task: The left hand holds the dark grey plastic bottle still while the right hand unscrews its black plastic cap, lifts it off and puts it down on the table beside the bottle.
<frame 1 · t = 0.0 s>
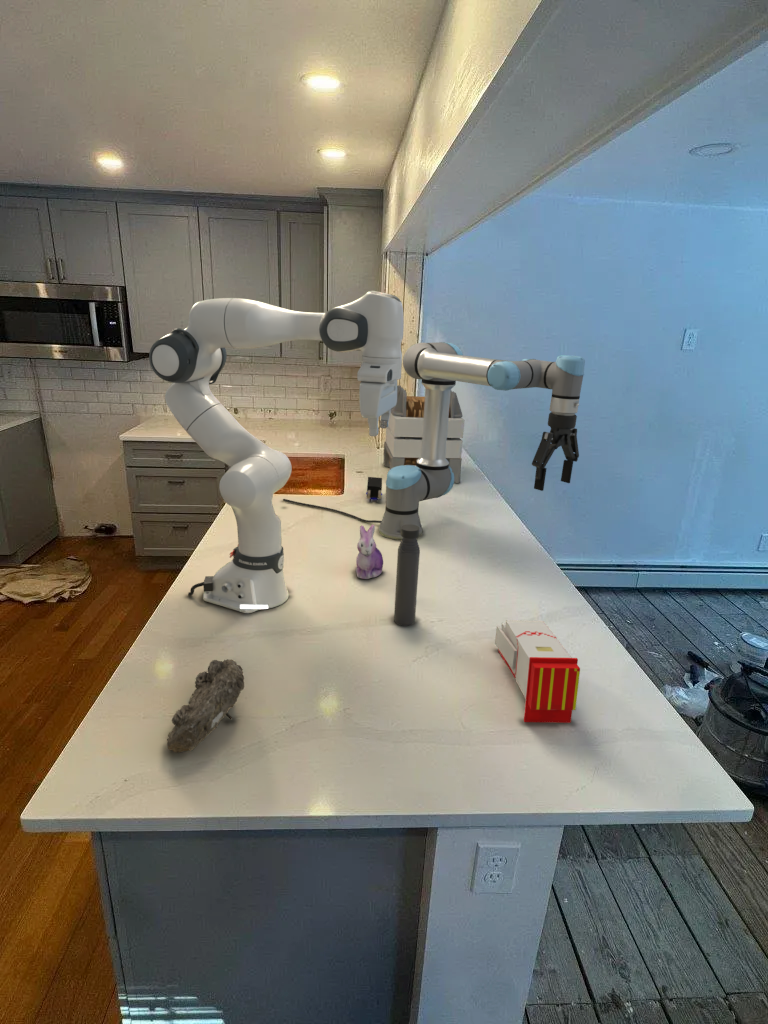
left hand: (379, 431, 130), 48 cm above the counter, tool pointing down, fingers open, 8 cm apart
right hand: (552, 485, 166), 28 cm above the counter, tool pointing down, fingers open, 13 cm apart
toy: (528, 680, 123), on the counter
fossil: (212, 717, 108), on the counter
bottle: (404, 620, 145), on the counter
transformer: (419, 473, 275), on the counter
cap: (410, 528, 136), point 25 cm above the counter, screwed on, not yet turned
figurine character: (374, 498, 235), on the counter
figurine: (368, 573, 169), on the counter
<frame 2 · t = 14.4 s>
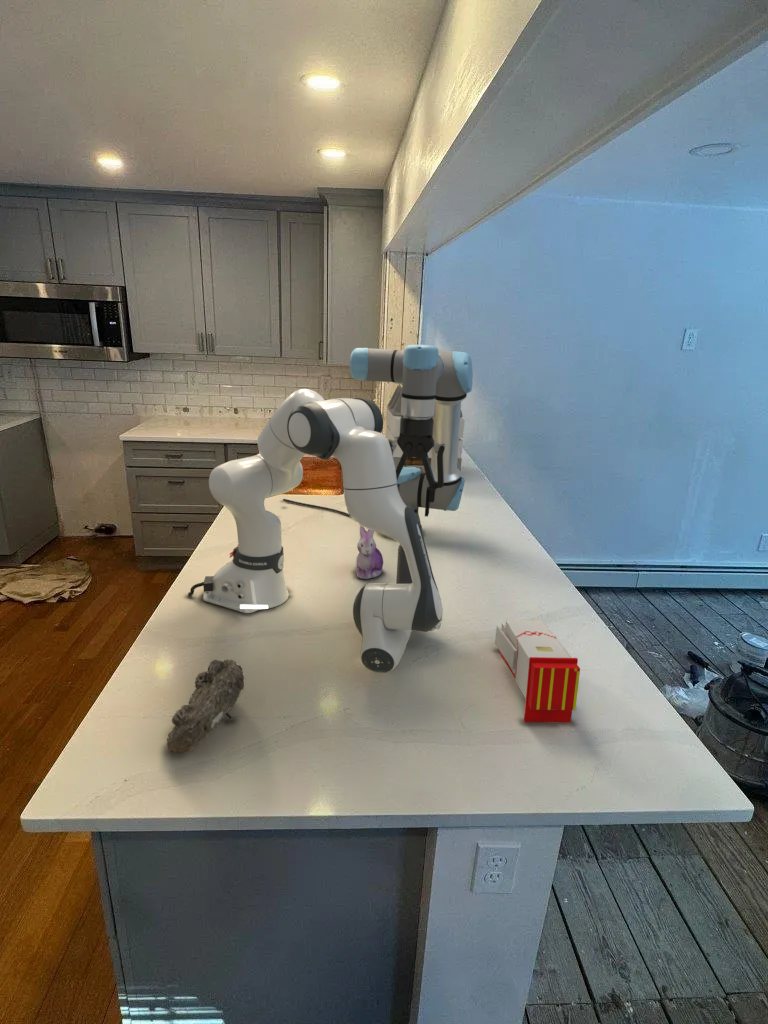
left hand: (406, 595, 143), 7 cm above the counter, tool horizontal, fingers closed on bottle, 5 cm apart
right hand: (411, 512, 135), 29 cm above the counter, tool pointing down, fingers open, 7 cm apart
bottle: (404, 620, 145), on the counter, touching left hand
everything else where it was.
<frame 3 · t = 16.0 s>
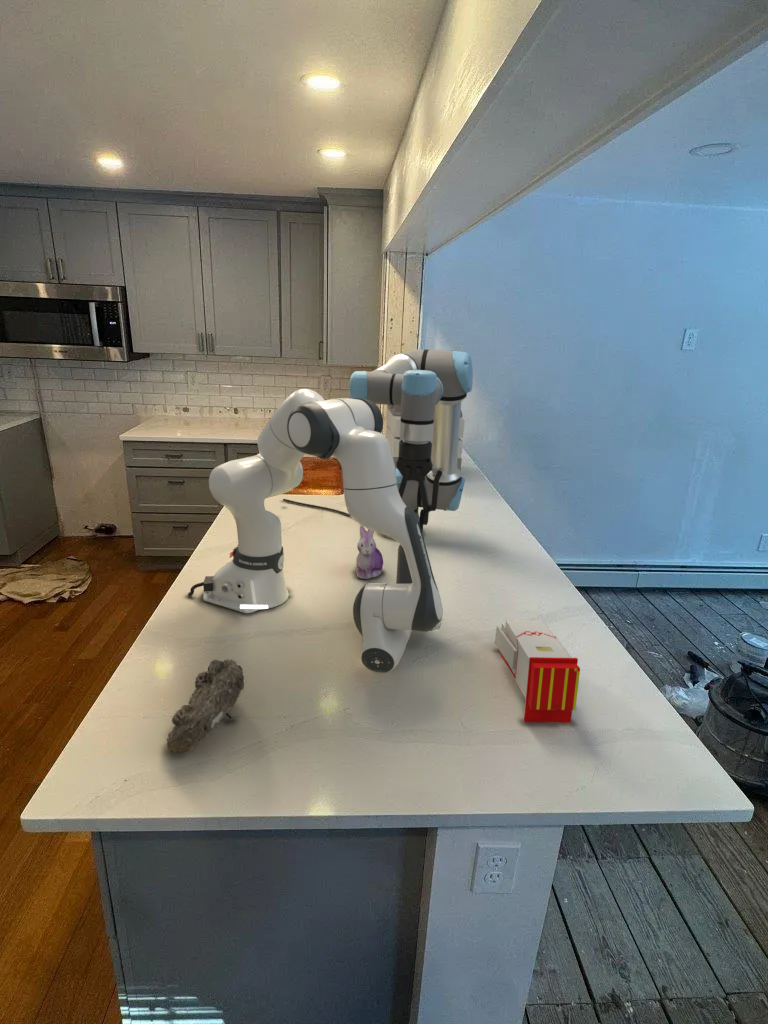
left hand: (406, 596, 143), 7 cm above the counter, tool horizontal, fingers closed on bottle, 5 cm apart
right hand: (409, 535, 137), 23 cm above the counter, tool pointing down, fingers closed on cap, 4 cm apart
bottle: (404, 620, 145), on the counter, touching left hand
cap: (410, 528, 136), point 25 cm above the counter, screwed on, not yet turned, touching right hand
everything else where it was.
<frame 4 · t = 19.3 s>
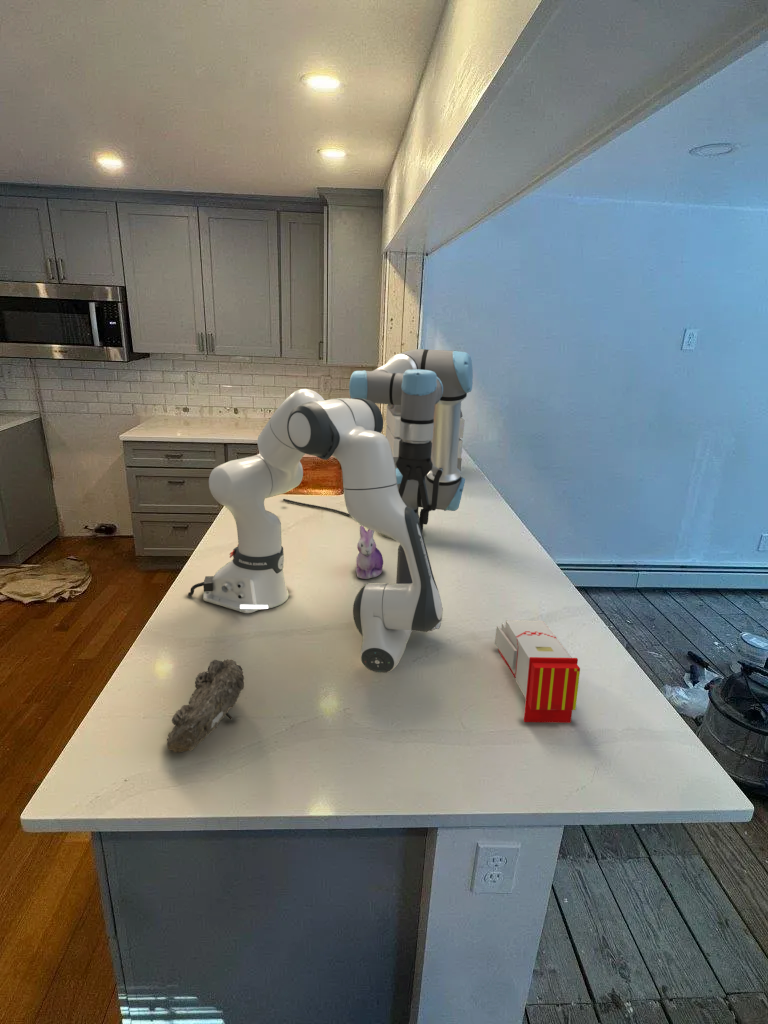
left hand: (406, 596, 143), 7 cm above the counter, tool horizontal, fingers closed on bottle, 5 cm apart
right hand: (409, 534, 137), 24 cm above the counter, tool pointing down, fingers closed on cap, 4 cm apart
bottle: (404, 620, 145), on the counter, touching left hand
cap: (410, 528, 136), point 25 cm above the counter, turned 88° so far, risen 0.1 cm, still on its thread, touching right hand
everything else where it was.
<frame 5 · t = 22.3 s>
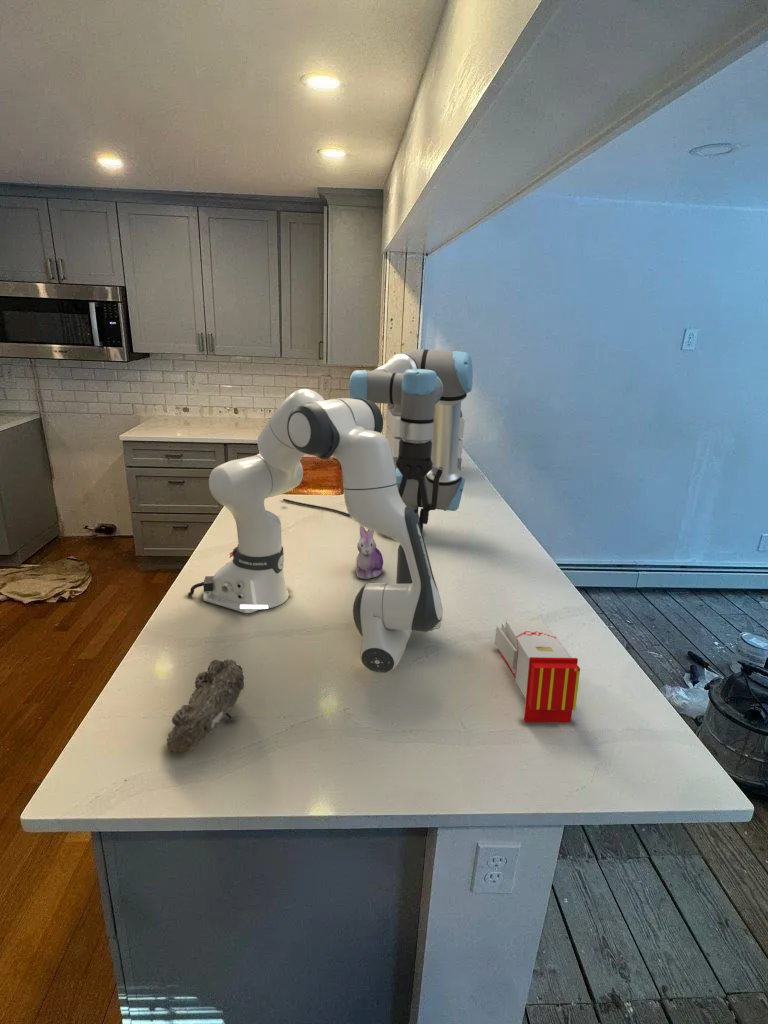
left hand: (406, 596, 143), 7 cm above the counter, tool horizontal, fingers closed on bottle, 5 cm apart
right hand: (409, 534, 137), 24 cm above the counter, tool pointing down, fingers closed on cap, 4 cm apart
bottle: (404, 620, 145), on the counter, touching left hand
cap: (410, 527, 136), point 25 cm above the counter, turned 177° so far, risen 0.2 cm, still on its thread, touching right hand
everything else where it was.
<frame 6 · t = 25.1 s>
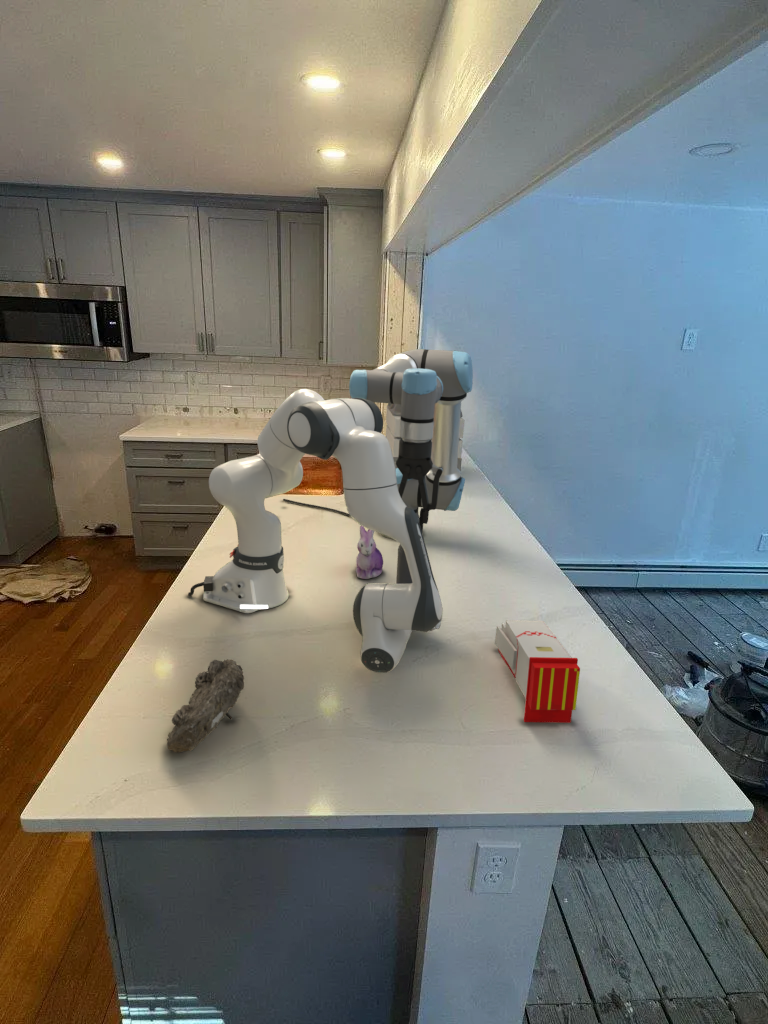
left hand: (406, 596, 143), 7 cm above the counter, tool horizontal, fingers closed on bottle, 5 cm apart
right hand: (409, 534, 137), 24 cm above the counter, tool pointing down, fingers closed on cap, 4 cm apart
bottle: (404, 620, 145), on the counter, touching left hand
cap: (410, 527, 136), point 25 cm above the counter, turned 265° so far, risen 0.3 cm, still on its thread, touching right hand
everything else where it was.
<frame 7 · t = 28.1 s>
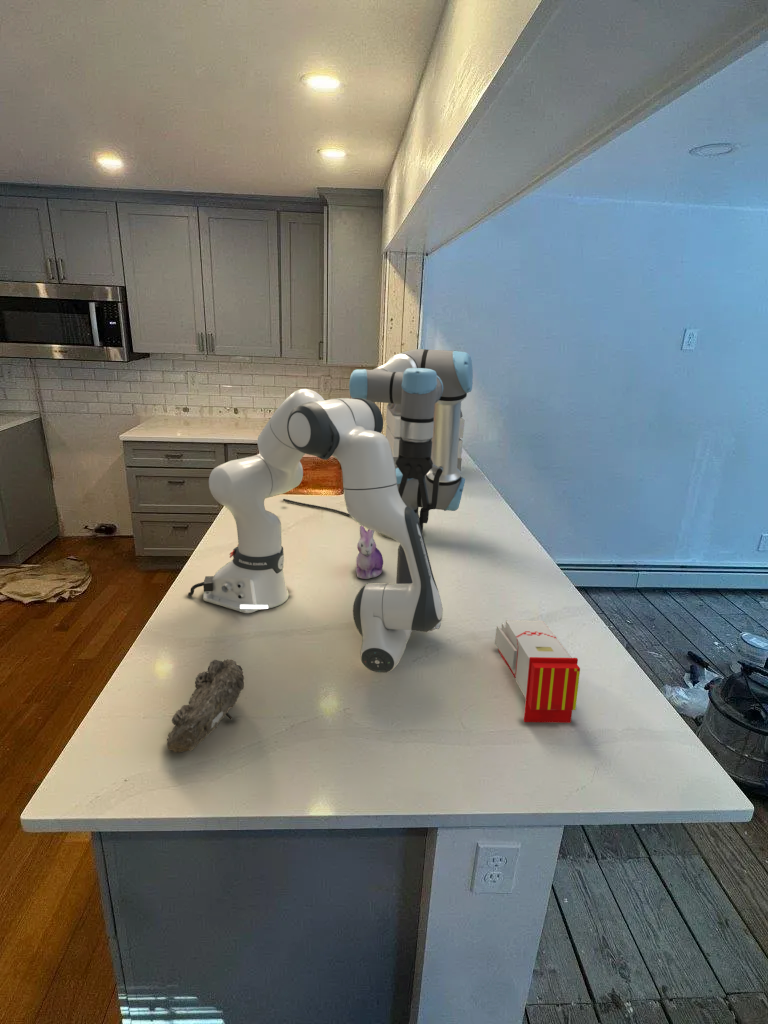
left hand: (406, 596, 143), 7 cm above the counter, tool horizontal, fingers closed on bottle, 5 cm apart
right hand: (409, 533, 137), 24 cm above the counter, tool pointing down, fingers closed on cap, 4 cm apart
bottle: (404, 620, 145), on the counter, touching left hand
cap: (410, 527, 136), point 26 cm above the counter, turned 353° so far, risen 0.4 cm, still on its thread, touching right hand
everything else where it was.
when the right hand's fingers open (1 cm above the counter, at t = 36.2 s): cap stays where it is, point 2 cm above the counter.
when the left hand's fingers open (7 cm above the counter, at t = 37.5 s): bottle stays where it is, on the counter.
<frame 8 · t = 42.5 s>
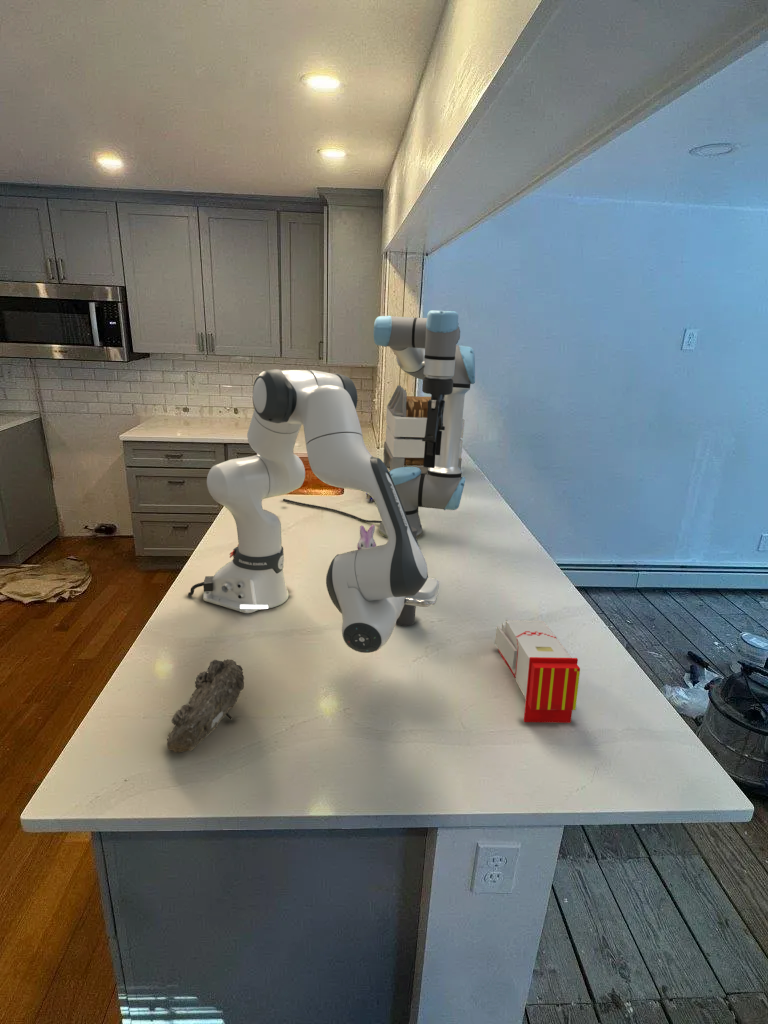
left hand: (398, 569, 127), 20 cm above the counter, tool horizontal, fingers open, 8 cm apart
right hand: (432, 460, 147), 38 cm above the counter, tool pointing down, fingers open, 13 cm apart
bottle: (404, 620, 145), on the counter
cap: (422, 586, 159), point 2 cm above the counter, off its thread
everything else where it was.
at the end: cap came off its thread; cap point 1.7 cm above the counter; the left hand is holding nothing; the right hand is holding nothing; bottle tilted 0°; bottle moved 0.0 cm from its start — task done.
